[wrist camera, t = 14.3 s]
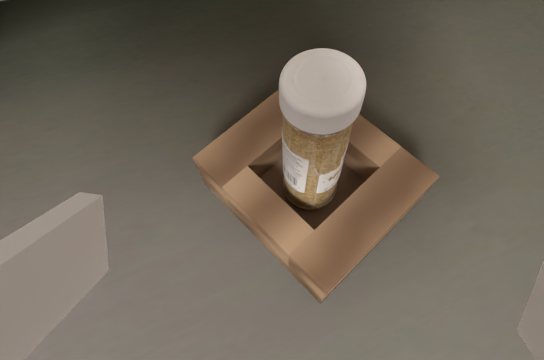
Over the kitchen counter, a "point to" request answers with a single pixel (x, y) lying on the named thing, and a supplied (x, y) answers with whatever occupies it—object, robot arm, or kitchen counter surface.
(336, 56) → the sprinkles bottle
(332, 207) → the brown wooden square frame
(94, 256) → the robot arm
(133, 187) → the kitchen counter surface
